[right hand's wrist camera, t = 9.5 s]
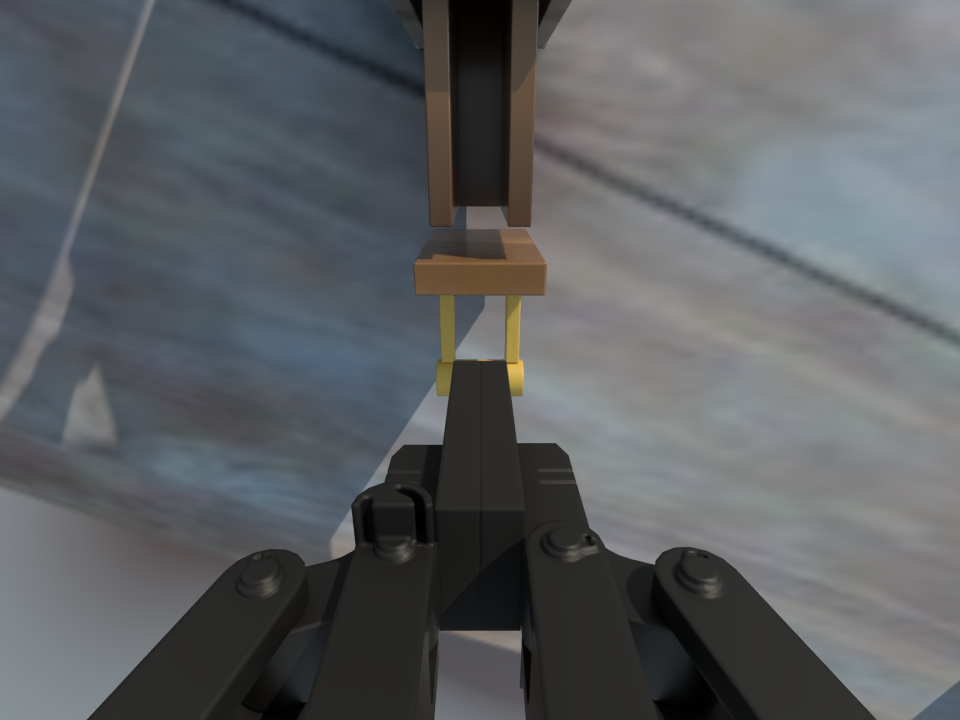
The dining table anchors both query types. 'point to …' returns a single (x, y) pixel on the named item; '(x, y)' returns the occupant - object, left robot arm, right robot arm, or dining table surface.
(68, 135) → the dining table surface
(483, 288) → the drawer
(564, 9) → the cabinet
